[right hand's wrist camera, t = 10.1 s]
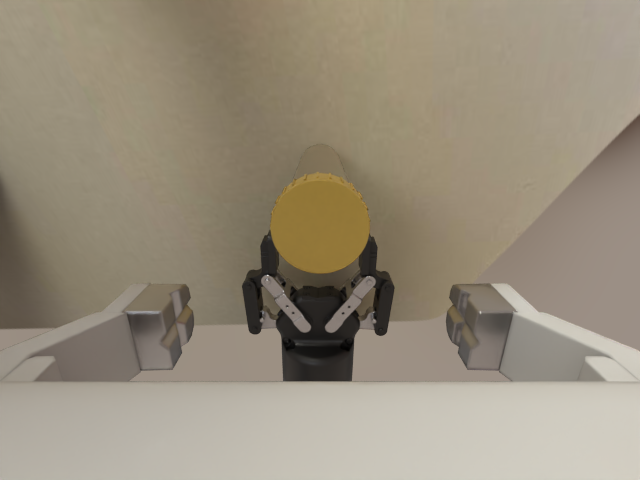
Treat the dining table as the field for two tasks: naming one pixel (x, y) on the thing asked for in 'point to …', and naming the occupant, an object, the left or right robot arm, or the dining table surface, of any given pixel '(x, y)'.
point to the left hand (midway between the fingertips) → (318, 232)
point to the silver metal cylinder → (320, 162)
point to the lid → (320, 223)
